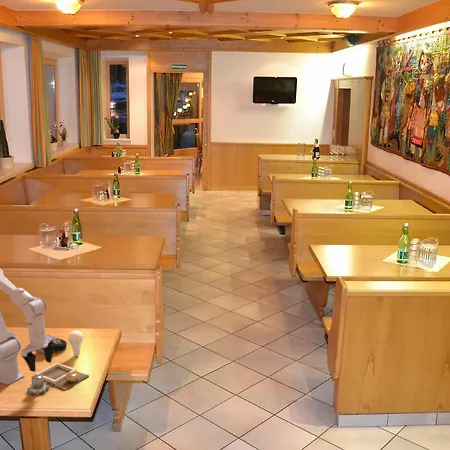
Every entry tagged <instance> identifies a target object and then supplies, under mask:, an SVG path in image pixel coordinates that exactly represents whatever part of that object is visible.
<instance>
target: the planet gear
mask: <svg viewBox="0 0 450 450" xmlns="http://www.w3.org/2000/svg"><path fill="white" fill-rule="evenodd" d="M36 374H37V373H36ZM36 374H34V375H32V376H31V384H30V387H29V386H28V387H27V390H26V391H27V393H29V396H33V395H34V396H36V397H38V396H40V395H42V394H44V395H45V394H47V391H49V390H50V385H49V384H47V382H45V383H44V382H43V375H41V374H37V375H36Z"/></svg>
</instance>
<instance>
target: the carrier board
mask: <svg viewBox="0 0 450 450" xmlns="http://www.w3.org/2000/svg"><path fill="white" fill-rule="evenodd" d="M69 372H70V371H68V370H65V369H63V368H60V367H56V368H54V369H52V370H50V371H49V372H47V373H45V374H43V376H46V377H48V378H51V379H54V380H56V379H58V378H59V377H61V376H63V375H65V374H67V373H69ZM77 373H78V382H76V383H73V384H69V383H67V381H66V379H64V380H62V381H60V382H58V383H56V384H53V383H50V382H48V381H45V380H43V382H44V383H45V382H47V385H49V386H51V387H52V386H53V387H54V388H57V389H60V390H62V391H67V390H69V389H70V388H72V387H74V386H76V385H78V384H80V382H83V381H84V380H86V379H88V378H89V377H90V375H88V374H85V373H82V372H79V371H77Z"/></svg>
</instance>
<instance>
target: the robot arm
mask: <svg viewBox="0 0 450 450" xmlns="http://www.w3.org/2000/svg"><path fill="white" fill-rule="evenodd" d="M0 290H1V291H3V292H4V293H5V294H7V295H9V296H10V301H11V302H13V304H15V306H17V307H19V308H20V309H21V311H22V313H23V315H24V319H25V321H26V323H27V330H28V339H29V344H28V345H26V346H25V347H24V348H23V349H22V343H21V341H20V340H19V338H18V337H17V336H16V333H15V332H14V331H11V330H8V328H7V325H6V323H5V321H4V318H3V314H2V312H1V311H0V383H1V384H3V385H7V386H8V385H10V384H12V383H14V382H15V381H18V380H20V379H22V378H24V377H25V374H23V373H20V372H19V371H20V370H19V363H18V355H19V352H20V355H21V357H22V358H23V360H24V361H25V363H26V364H27V367H28V370H29V371H30V372H34V373H35V372H36V369H37V368H36V360H37V359H36V358H37V355H36V354H34V353H33V352H35V350H37V349H40V348H43V350H44V353H45V355H44V359H45V360H44V361H45V362H46V363H49V364H50V363H52V360H53V355H54V352H55V351H54V349H55V347H56V343H54V341H56V340H55V338H56V336H55V335H52V334H50V335H51V336H48V337H46V335H47V333H46V325H45V315H44V313H45V312H46V311H47V304H46V301H45V300H44V299H43V298H42V297H36V296H33V295H32V294H30V293H29V292H28V291H26V290H25V289H24V288H23V287H17V286H15V284H13V283H12V282H11V281H10V280H9V279H8V278H7V277H6V276H5V274H4V270H3V269H1V268H0Z"/></svg>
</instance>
